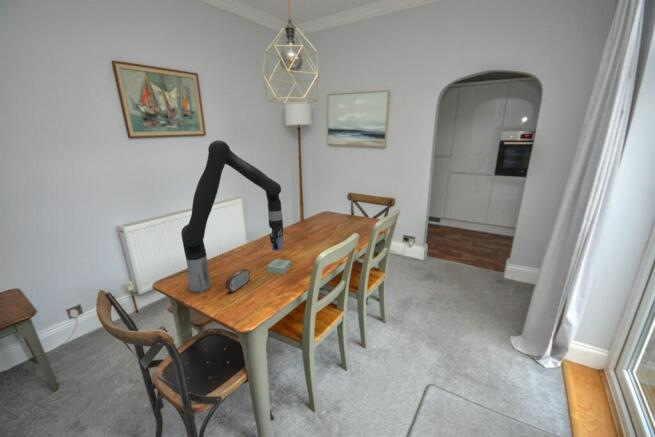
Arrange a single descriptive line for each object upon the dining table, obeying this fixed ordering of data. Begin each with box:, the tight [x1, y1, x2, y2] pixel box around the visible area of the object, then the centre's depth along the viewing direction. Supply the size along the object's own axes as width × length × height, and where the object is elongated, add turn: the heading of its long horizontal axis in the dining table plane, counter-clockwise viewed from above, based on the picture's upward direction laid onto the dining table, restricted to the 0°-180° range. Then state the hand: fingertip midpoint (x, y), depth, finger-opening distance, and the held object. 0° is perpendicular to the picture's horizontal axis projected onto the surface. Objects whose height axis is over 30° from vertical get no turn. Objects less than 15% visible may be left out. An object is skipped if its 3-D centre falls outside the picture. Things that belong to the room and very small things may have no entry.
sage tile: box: [266, 258, 292, 275], centre depth 161 cm, size 10×10×4 cm
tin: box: [224, 268, 251, 292], centre depth 142 cm, size 15×3×8 cm, turn 153°
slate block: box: [270, 235, 285, 252], centre depth 157 cm, size 5×5×7 cm
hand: (277, 247), depth 157 cm, fingers closed on slate block, 5 cm apart
